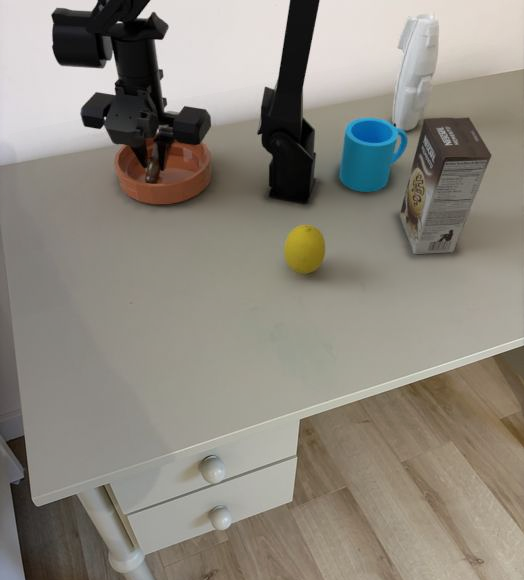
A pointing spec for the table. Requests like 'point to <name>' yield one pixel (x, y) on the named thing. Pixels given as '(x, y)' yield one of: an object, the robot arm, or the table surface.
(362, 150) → the mug
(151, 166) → the brown sausage
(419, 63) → the white tall rounded piece
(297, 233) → the lemon
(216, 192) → the table surface
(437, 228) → the coffee box
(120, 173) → the bowl
